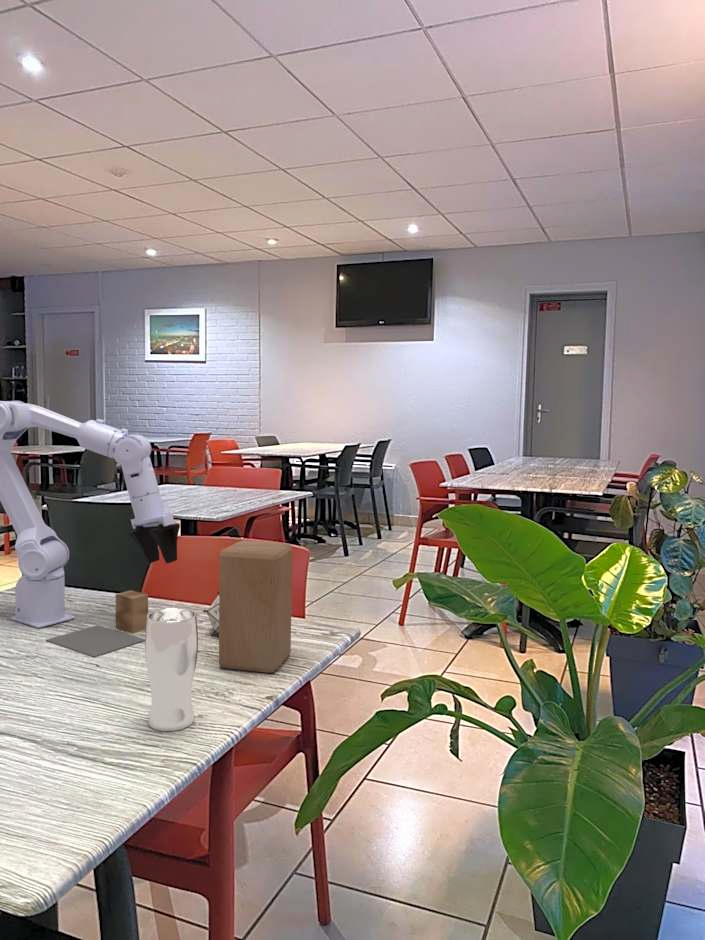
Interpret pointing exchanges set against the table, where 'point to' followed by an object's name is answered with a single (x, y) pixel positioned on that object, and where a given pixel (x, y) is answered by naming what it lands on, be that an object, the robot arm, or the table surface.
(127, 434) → the robot arm
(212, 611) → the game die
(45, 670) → the table surface
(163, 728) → the beer glass
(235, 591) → the block
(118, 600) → the walnut block
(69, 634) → the mat
